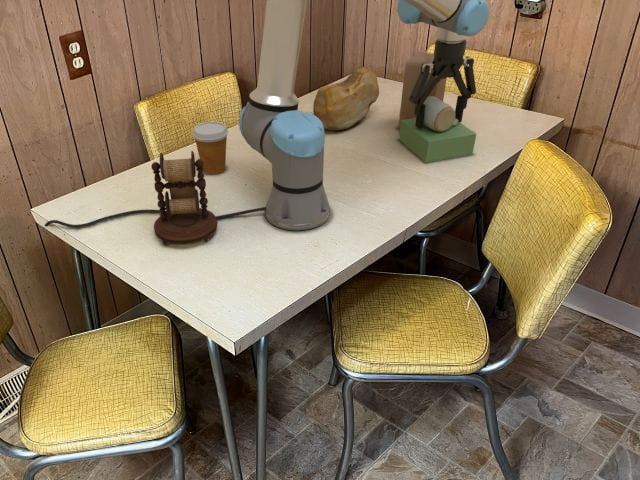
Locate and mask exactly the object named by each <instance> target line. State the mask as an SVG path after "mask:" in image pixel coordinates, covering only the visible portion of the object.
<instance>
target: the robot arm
mask: <svg viewBox="0 0 640 480" xmlns="http://www.w3.org/2000/svg"><path fill="white" fill-rule="evenodd" d="M307 3H308V0H266V4H265V13H264V21H263V31H262V39H261V48H260V49H261V50H260V56H259V57H260V58H259V65H258V66H259V67H258V74H257V75H258V76H257V84H256V88H255V89H254V90H252V91H251V92H250V93H249V98H248V101H247V103H246V105H245V106H243V108H242V110H241V111H240V112H241V113H240V115H239V118H238V119H239V120H238V126H239V132H240V134H241V137H242V138H243V139H244V140H245V142H246V143H247V144H248V145H249V146H250V148H252V150H255V151H256V152H258V153H259V154H260V155H261V156H262V157H263V158H265V159H266V160H267V161H268V162H269V163H271V174H272V175H271V179H272V185H271V189H270V192H269V196H268V198H267V201H266V204H265V206H264V207H262V206H261V207H257V208H252V209H247V210H241V211H238V212H237V211H236V212H232V213H227V214H222V215H215V216H216V218H217V220H221V219H225V218H232V217H237V216H242V215H245V214H251V213H257V212H263V211H265V218H266V220H267V221H268V223H270V224H271V225H273V226H274V227H276V228H278V229H282V230H287V231H295V232H296V231H298V232H299V231H308V230H312V229H315V228H318V227H320V226H323V225H324V224H326V222H327V221H328V220H329V218H330V215H331V214H330V212H331V211H330V210H331V207H330V204H329V200H328V197H327V194H326V190H325V186H324V161H325V160H324V159H325V145H326V136H325V129H324V126H323V124H322V122H321V120H320V119H319V118H318V117H316V116H315V115H314V113H311V112H307V111H306V112H303V110H299V109H298V108H299V103H300V100H299V98H298V96H297V95H296V93H295V85H296V79H297V78H296V77H297V72H298V65H299V58H300V51H301V43H302V38H303V31H304V25H305V18H306V17H305V16H306V10H307ZM397 14H398V17H399V19H400V21H401V22H402V23H404V24H406V25H412V24H413V25H416V24H418V23H424V24H427V25H429V26H433V27H436V34H435V38H436V40H435V43H434V50H433V54H434V60H433V62H432V63H430V64H425V63H422V65H421V70H420V74H419V76H418V79H417V81H416V84H415V86H414V88H413V91H412V93H411V95H410V98H409V101H411V102H412V103H413V104H415V111H414V114H415V116H416V123H415V126H416V127H418V128H419V129H422V128H423V121H424V114H425V107H426V105H425V104H423V103H424V102H425V100H426V99H427V97H428V96H429V94H430V93H431V91H432V90H433V88H434V87H435V85H436V84H437V83H438V82H440V80H441V79H445V78H449V79H451V78H452V79H453V80H454V83H455V85H456V87H457V90H458V91H459V94H460V95H459V94H458V95H457V98H456V103H455V109H454V110H455V118H456V119H458V122H460V123H462V121H463V116H464V110H467V109H466V108H467V107H468V106H467V105H468V100H469V99H471V98H472V95H475V94H477V87H476V80H475V72H474V64H475V59H474V58H472V57H470V56H468V55H467V56H466V57H465V54H466V49H467V43H468V42H467V39H468V37H474V36H477V35H478V34H480V32H482V31H483V29H484V28H485V26H486V25H487V23H488V21H489V17H490V7H489V4H488V3H487V1H486V0H397ZM462 67H463V71H464V78H465V81H464V79H463V74H462V73H461V71H460V70H461V68H462ZM431 69H433V72H432V73H431V75H430V78H429V80H428V81H427V79H428V76H429V73H430V72H431ZM435 76H437V77H435ZM426 81H427V83H426ZM425 83H426V84H425ZM424 85H425V86H424ZM165 212H166V210H165ZM145 213H146V214H147V213H151V214H153V213H154V214H161V211H160V210H159V209H135V210H130V211H124V212H120V213H115V214H110V215H107V216H103V217H101V218H98V219H95V220H92V221H89V222H86V223H80V224H71V223H67V222H65V221H61V220H57V219H50V220H48V221H47V222H46V223H45V224H44V227H48V226H50V225H51V224H57V225H61V226H63V227H66V228H72V229H80V228H85V227H89V226H92V225H95V224H98V223H101V222H103V221H107V220H110V219H116V218H119V217H124V216H128V215H129V216H130V215H134V214H135V215H136V214H145Z"/></svg>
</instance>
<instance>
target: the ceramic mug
mask: <svg viewBox="0 0 640 480" xmlns="http://www.w3.org/2000/svg"><path fill="white" fill-rule="evenodd" d="M423 104H425V105H426V107H425V114H424V121H423V125H425V126H427V127H429V128H431V129H432V130H434V131H438V132H443V131H445V130H447V129H449V128H450V127H451V125H457V123H458V119H456V118H455V109H454V108H453V106H451V104H448V103H447V102H445V101H444V100H443V101H441V100H440V99H438V98H437V97H434V96H430V97H427V99H426V100H425V102H424V103H423Z"/></svg>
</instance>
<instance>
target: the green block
mask: <svg viewBox="0 0 640 480" xmlns="http://www.w3.org/2000/svg"><path fill="white" fill-rule="evenodd" d="M415 123H416V118H412V119H406V120H401V126H400V128H399V135H398V141H399V142H400V143H401V144H402V145H404V146H405V147H406V148H408V149H409V150H410V151H411V152H412V153H413V154H414V155H415V156H417V157H418V158H419V159H420V160H422V162H424V163H425V164H427V163H433V162H438V161H444V160H450V159H455V158H462V157H468V156H473V154H474V147H475V145H476V139H477V138H476V137H477V133H476V132H475V131H473V130H471V129H470V128H468V127H467V126H465V124H463V123H462V122H458V123H457V125H451V127H450V128H449V129H447V130H445V131H443V132H438V131H434V130H432V129H431V128H429V127H427V126H425V125H423V128H422V129H419V128H418V127H416V126H415Z"/></svg>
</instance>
